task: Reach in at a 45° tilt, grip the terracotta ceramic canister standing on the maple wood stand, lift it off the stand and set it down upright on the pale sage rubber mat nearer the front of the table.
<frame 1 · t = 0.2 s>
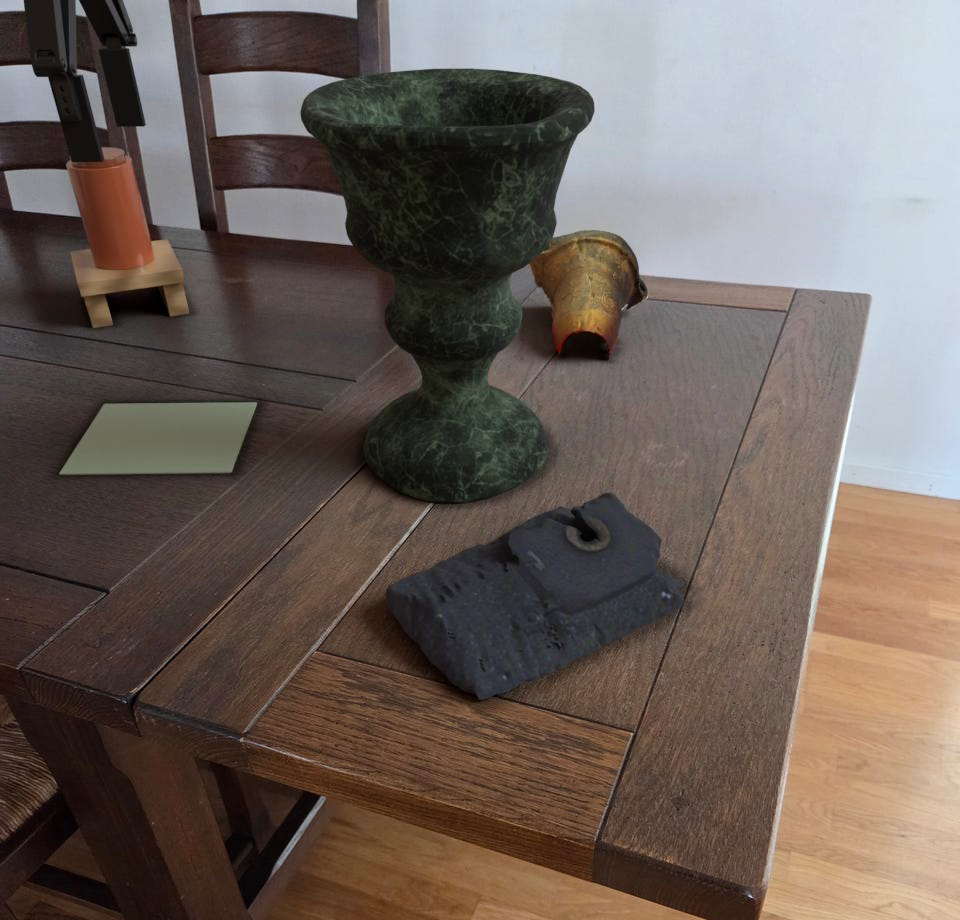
hand: (111, 142, 84), 23 cm above the table, tool pointing down, fingers open, 13 cm apart
stand: (137, 308, 113), on the table
grey block with grommet: (532, 602, 69), on the table
goblet: (456, 453, 86), on the table
mat: (164, 439, 88), on the table
pot: (580, 328, 109), on the table
canister: (124, 260, 109), point 6 cm above the table, touching stand
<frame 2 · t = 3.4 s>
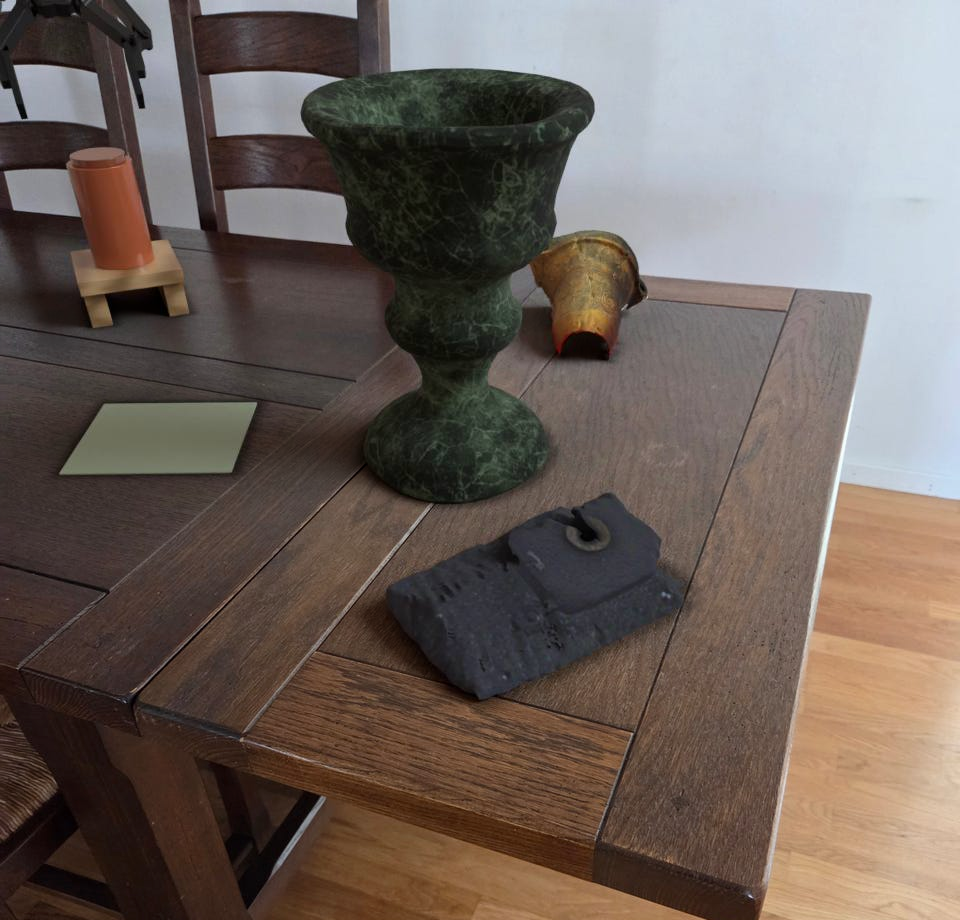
hand: (82, 106, 106), 21 cm above the table, tool tilted 45°, fingers open, 13 cm apart
nothing on the table moved.
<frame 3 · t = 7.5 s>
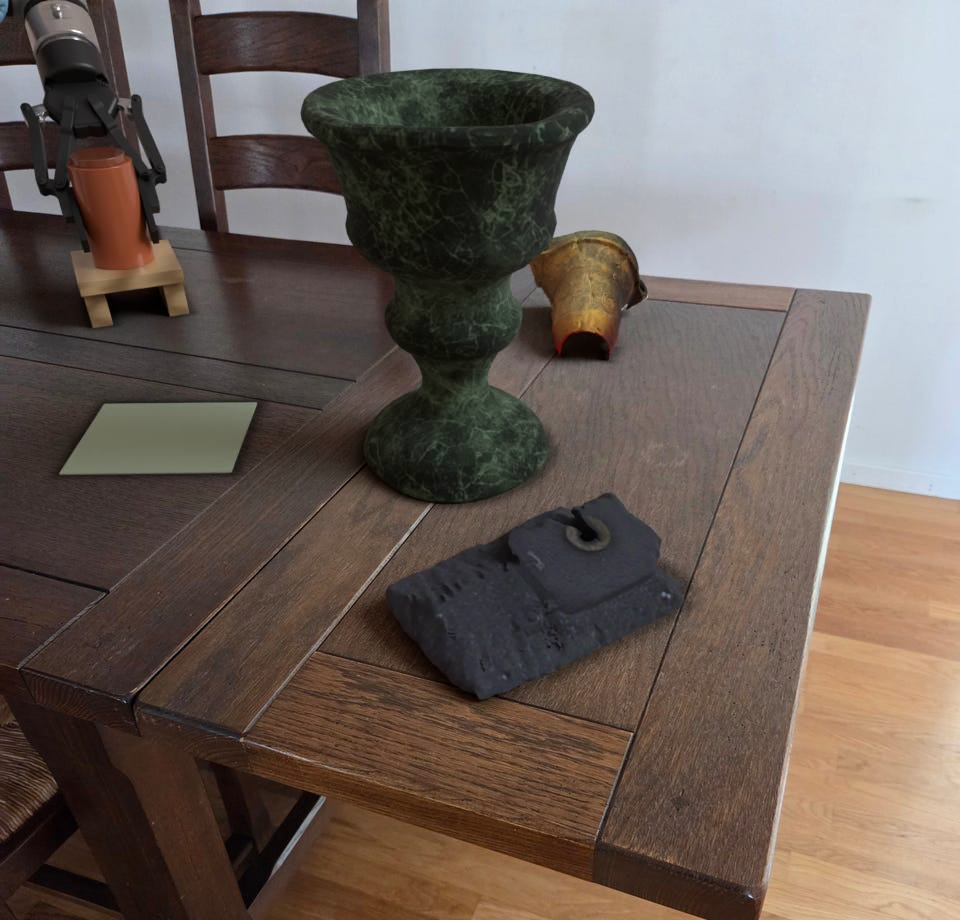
hand: (120, 241, 105), 9 cm above the table, tool tilted 45°, fingers closed on canister, 7 cm apart
canister: (124, 260, 109), point 6 cm above the table, touching gripper, stand
everything else where it was.
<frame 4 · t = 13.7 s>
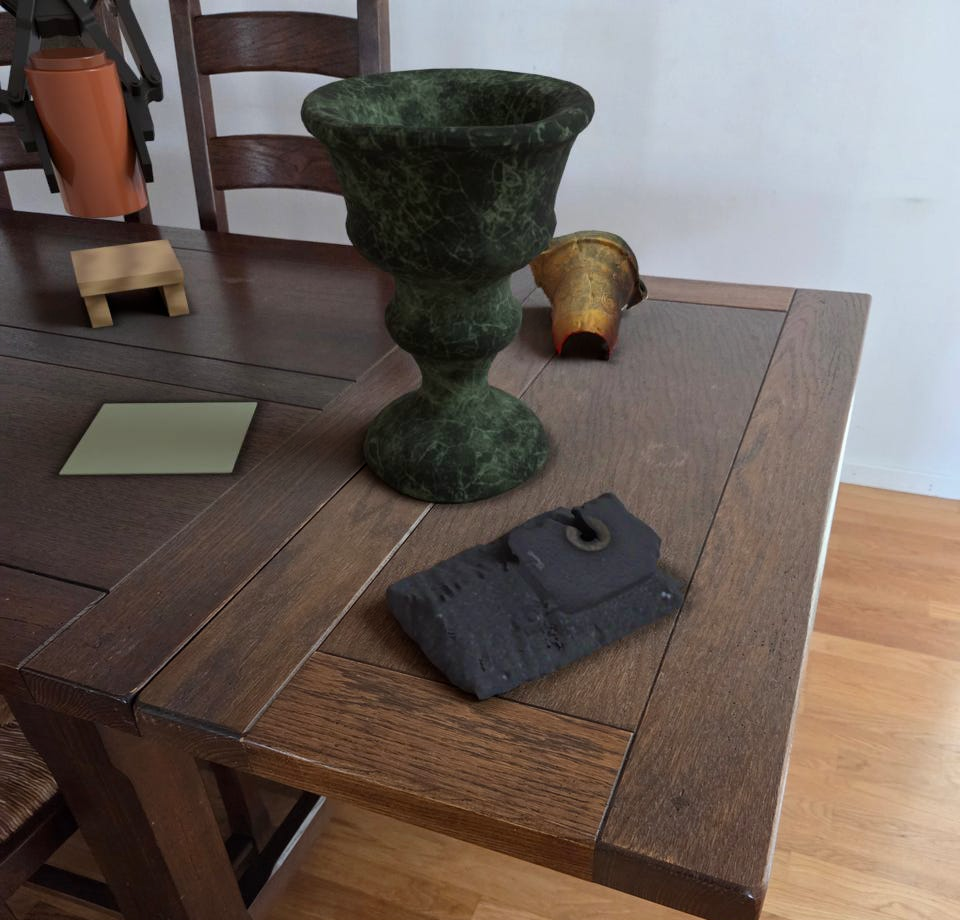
hand: (101, 178, 77), 23 cm above the table, tool tilted 45°, fingers closed on canister, 7 cm apart
canister: (107, 206, 81), point 19 cm above the table, touching gripper
everything else where it was.
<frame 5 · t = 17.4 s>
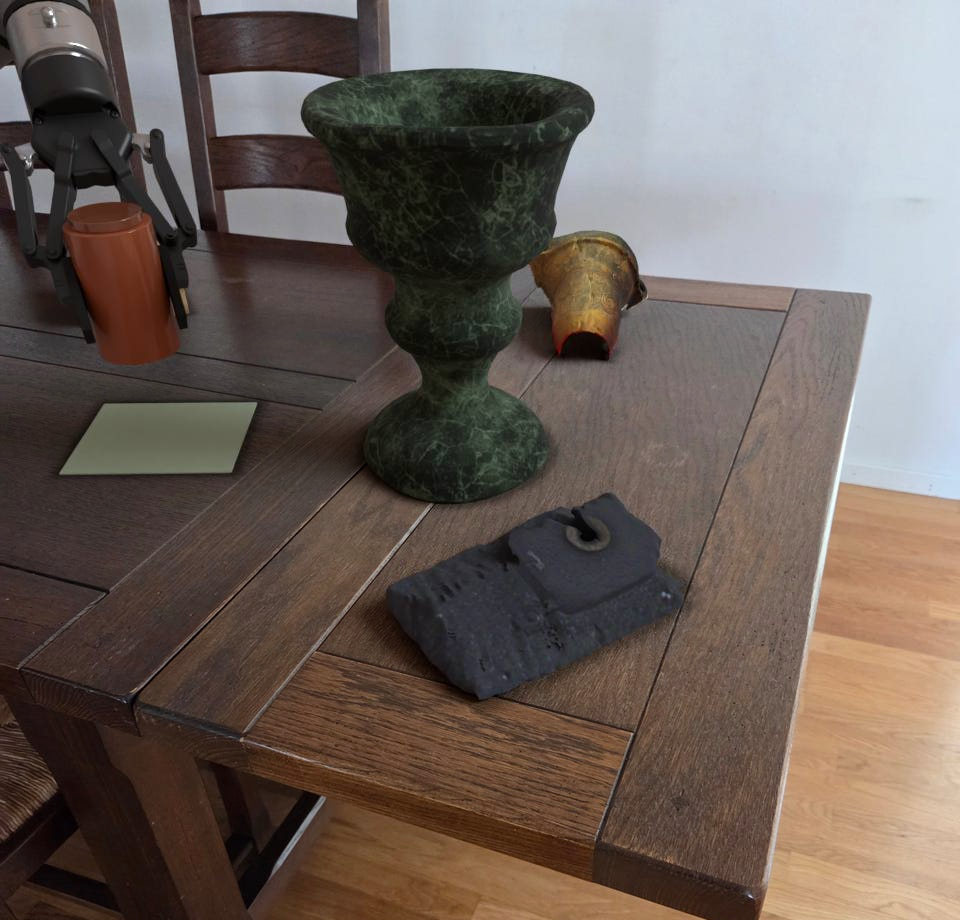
hand: (136, 329, 77), 12 cm above the table, tool tilted 45°, fingers closed on canister, 7 cm apart
canister: (141, 348, 82), point 9 cm above the table, touching gripper
everything else where it was.
when the fingers open (4 cm above the table, at t = 20.2 s): canister stays where it is, resting on mat.
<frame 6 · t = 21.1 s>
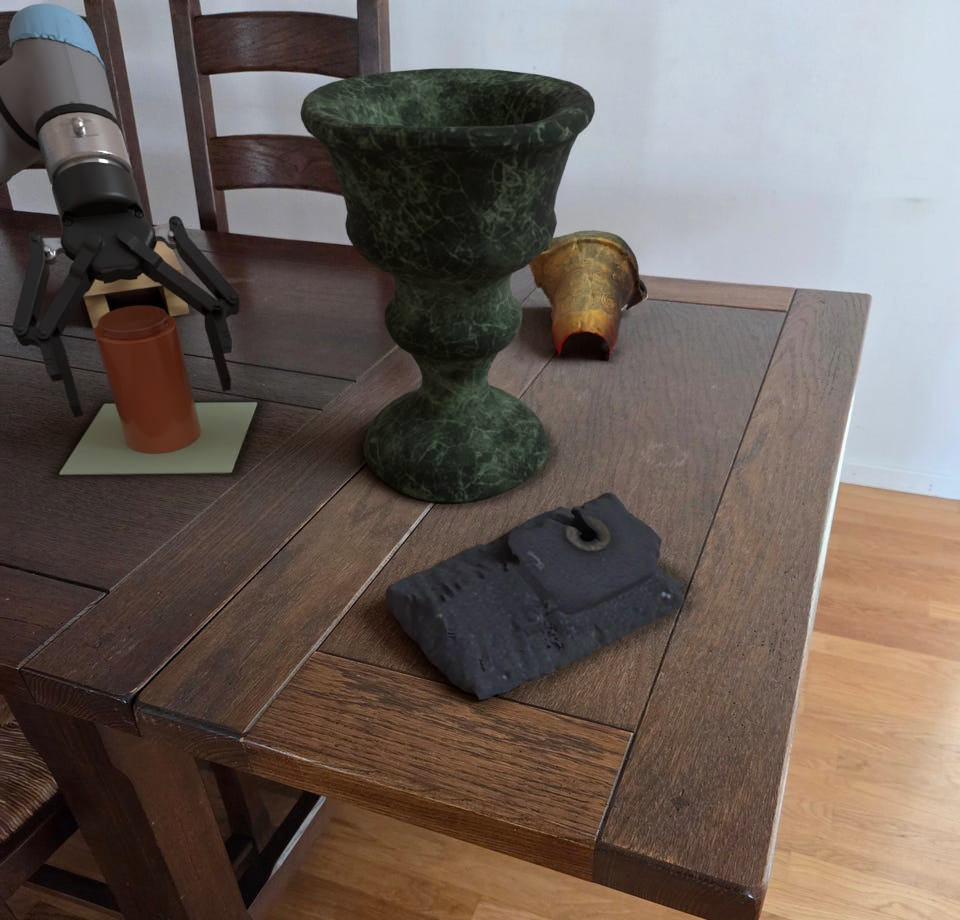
hand: (153, 398, 83), 5 cm above the table, tool tilted 45°, fingers open, 13 cm apart
canister: (164, 435, 88), resting on mat
everything else where it was.
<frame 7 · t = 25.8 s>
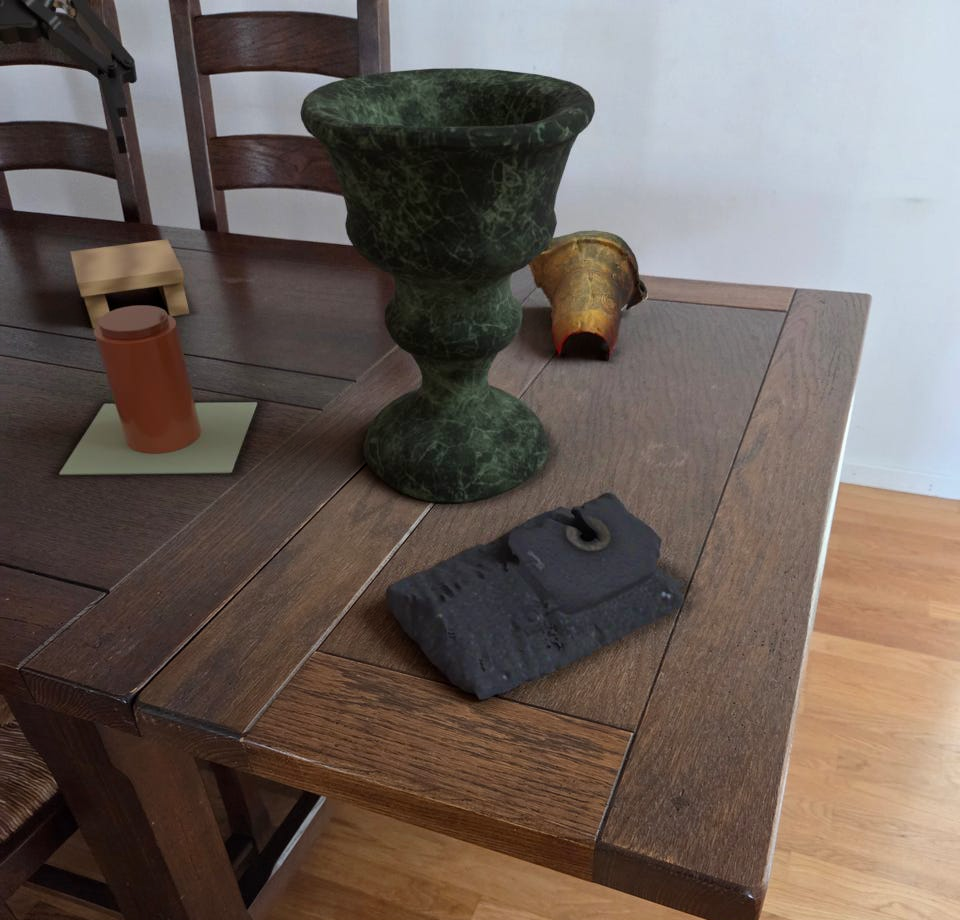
hand: (50, 151, 87), 22 cm above the table, tool tilted 45°, fingers open, 13 cm apart
nothing on the table moved.
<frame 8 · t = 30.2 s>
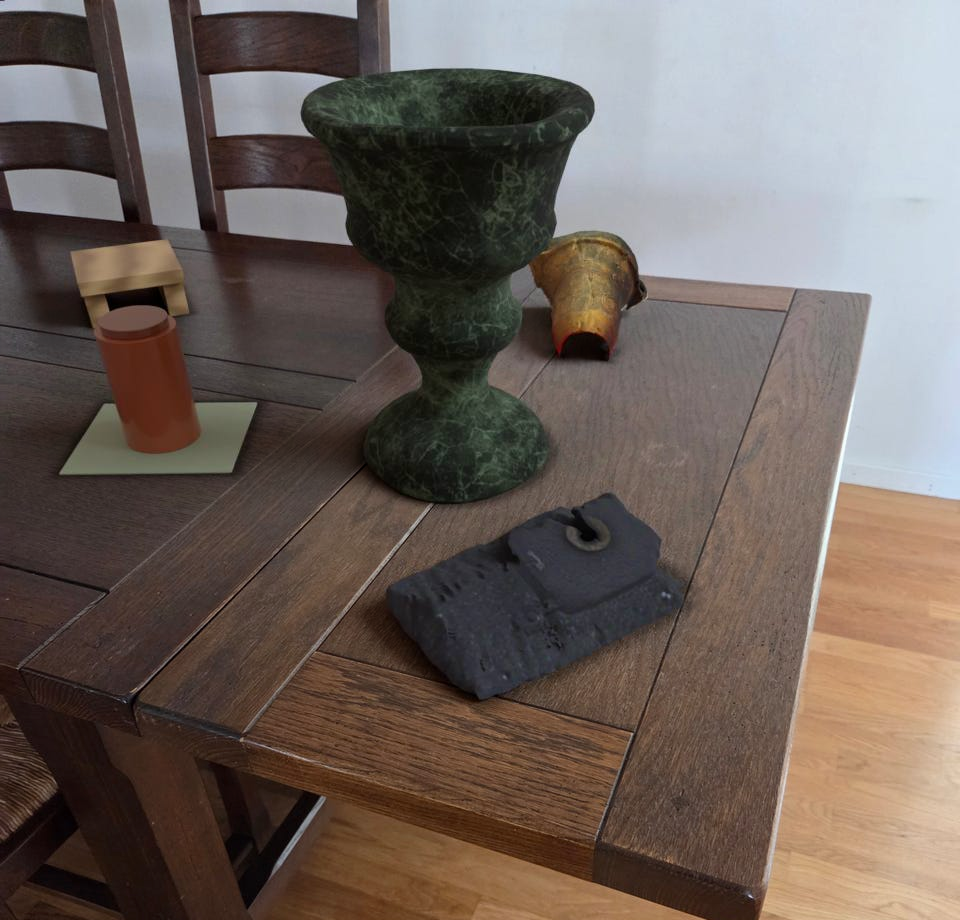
nothing on the table moved.
at the end: canister inside the target area on the mat (0.0 cm from its centre), point 0.4 cm above the mat's base; canister tilted 0°; canister touching mat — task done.
